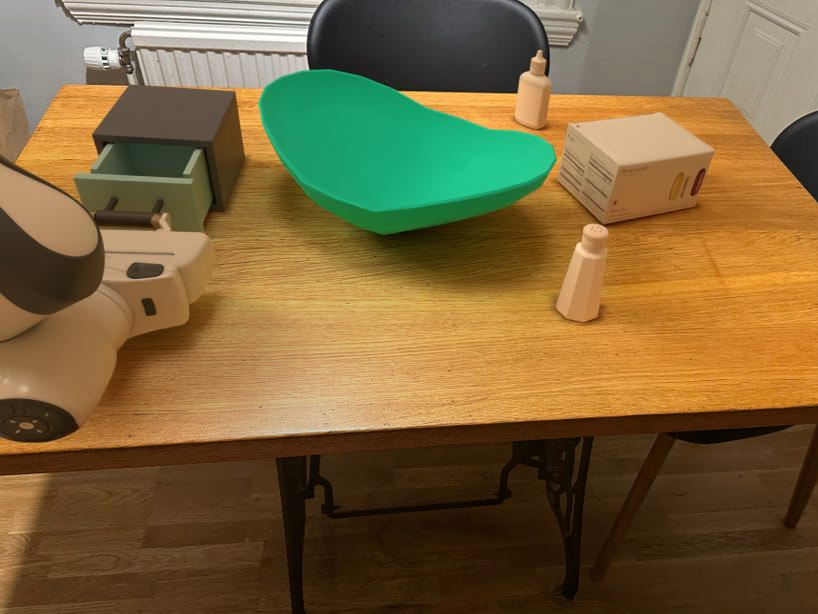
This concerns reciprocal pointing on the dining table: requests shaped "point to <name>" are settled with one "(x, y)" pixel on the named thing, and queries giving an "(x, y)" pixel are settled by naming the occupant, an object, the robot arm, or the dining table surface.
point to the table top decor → (394, 153)
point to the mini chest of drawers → (181, 128)
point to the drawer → (148, 186)
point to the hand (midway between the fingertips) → (129, 216)
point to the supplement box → (633, 166)
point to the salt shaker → (585, 276)
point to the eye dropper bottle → (533, 95)
